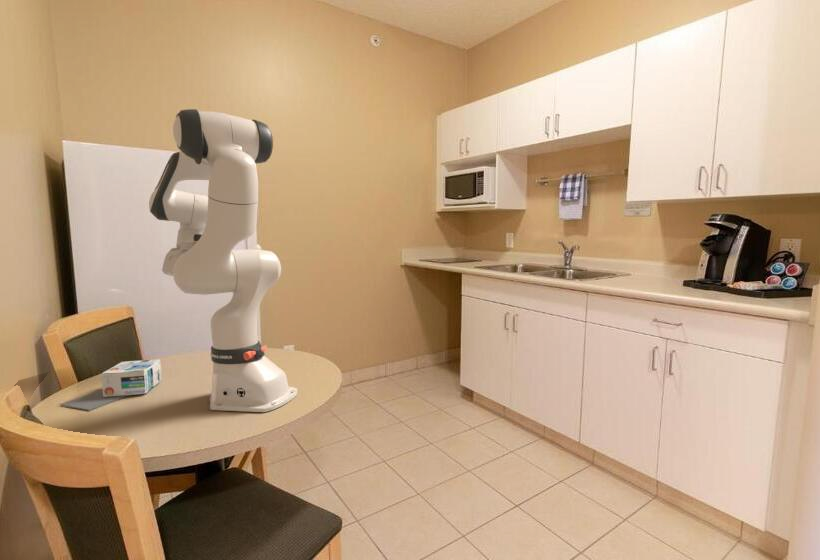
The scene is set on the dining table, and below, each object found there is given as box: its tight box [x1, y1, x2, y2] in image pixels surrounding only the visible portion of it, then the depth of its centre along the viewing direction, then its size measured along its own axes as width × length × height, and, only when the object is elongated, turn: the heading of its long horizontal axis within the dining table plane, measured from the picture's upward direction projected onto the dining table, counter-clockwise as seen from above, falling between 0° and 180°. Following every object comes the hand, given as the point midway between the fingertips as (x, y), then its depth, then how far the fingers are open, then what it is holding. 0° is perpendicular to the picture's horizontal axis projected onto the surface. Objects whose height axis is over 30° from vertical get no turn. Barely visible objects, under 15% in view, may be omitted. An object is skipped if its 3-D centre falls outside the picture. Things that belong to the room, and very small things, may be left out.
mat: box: [59, 389, 130, 412], centre depth 108 cm, size 11×14×1 cm
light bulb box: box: [100, 359, 163, 397], centre depth 113 cm, size 11×7×11 cm
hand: (187, 283), depth 128 cm, fingers closed
